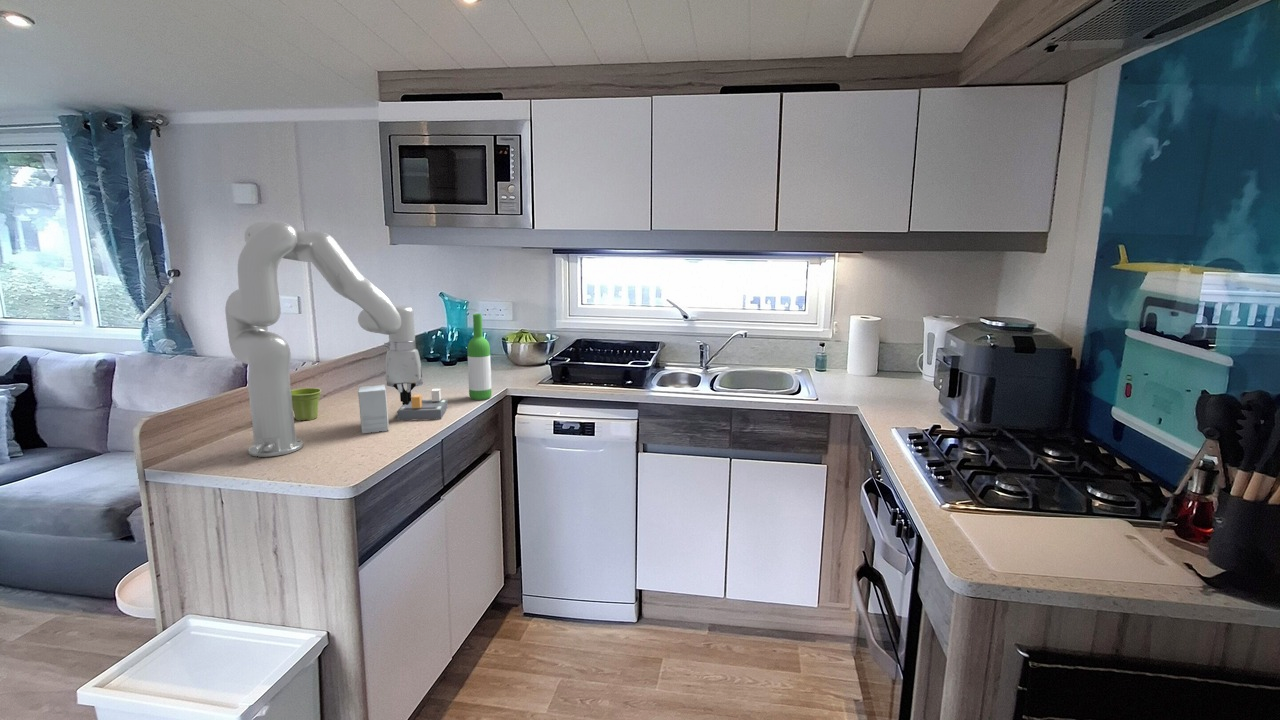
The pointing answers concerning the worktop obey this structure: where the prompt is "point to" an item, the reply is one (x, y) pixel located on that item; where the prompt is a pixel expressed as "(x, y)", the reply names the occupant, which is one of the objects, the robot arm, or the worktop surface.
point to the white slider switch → (436, 394)
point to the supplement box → (373, 408)
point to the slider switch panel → (423, 410)
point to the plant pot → (305, 403)
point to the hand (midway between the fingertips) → (406, 403)
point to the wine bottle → (479, 363)
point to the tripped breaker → (416, 401)
